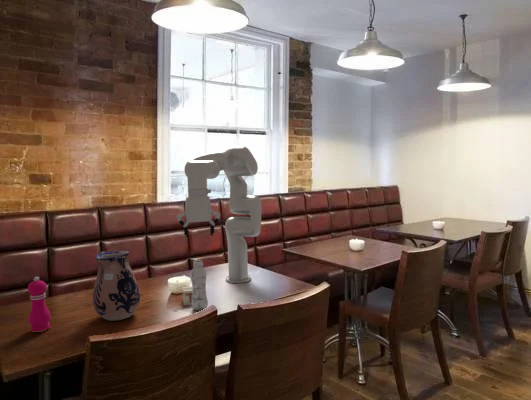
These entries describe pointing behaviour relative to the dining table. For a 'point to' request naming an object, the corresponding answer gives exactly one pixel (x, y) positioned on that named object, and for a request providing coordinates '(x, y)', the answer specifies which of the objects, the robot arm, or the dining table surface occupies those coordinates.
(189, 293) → the beige cube
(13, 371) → the dining table surface
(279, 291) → the dining table surface
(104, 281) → the ceramic pitcher
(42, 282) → the pepper mill
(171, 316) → the dining table surface
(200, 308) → the silver metal bottle
